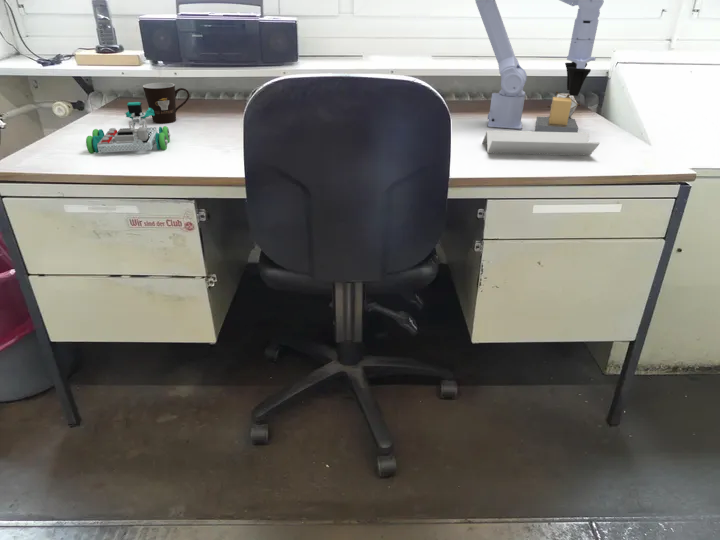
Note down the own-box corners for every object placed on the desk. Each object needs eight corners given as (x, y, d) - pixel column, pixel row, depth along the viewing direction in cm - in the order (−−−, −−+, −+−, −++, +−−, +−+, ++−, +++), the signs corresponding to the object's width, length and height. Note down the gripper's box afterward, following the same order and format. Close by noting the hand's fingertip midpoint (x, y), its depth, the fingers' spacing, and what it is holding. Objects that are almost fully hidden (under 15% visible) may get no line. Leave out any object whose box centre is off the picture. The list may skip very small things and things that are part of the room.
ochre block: (549, 123, 142) (553, 100, 139) (548, 119, 146) (552, 96, 143) (567, 124, 141) (571, 101, 138) (566, 120, 145) (570, 98, 142)
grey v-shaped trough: (482, 164, 138) (482, 142, 139) (580, 167, 137) (578, 145, 139) (492, 141, 126) (492, 117, 128) (599, 143, 125) (597, 120, 127)
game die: (561, 129, 166) (581, 102, 165) (569, 126, 158) (591, 97, 156) (538, 113, 166) (558, 85, 164) (545, 109, 158) (566, 80, 156)
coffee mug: (145, 124, 152) (138, 88, 147) (154, 117, 159) (148, 82, 154) (186, 124, 152) (181, 88, 147) (193, 117, 160) (188, 82, 155)
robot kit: (177, 129, 149) (171, 94, 145) (166, 155, 128) (159, 116, 123) (106, 132, 146) (98, 97, 142) (83, 159, 125) (73, 119, 120)
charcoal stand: (535, 140, 142) (538, 125, 140) (534, 130, 150) (536, 116, 148) (575, 143, 140) (578, 128, 138) (571, 133, 148) (574, 119, 146)
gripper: (603, 42, 132) (590, 98, 139) (595, 36, 144) (584, 88, 151) (573, 41, 134) (562, 97, 140) (568, 35, 146) (558, 87, 153)
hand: (572, 92), depth 146 cm, fingers open, 7 cm apart
